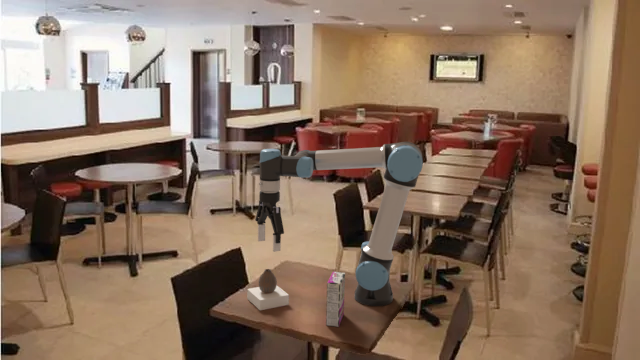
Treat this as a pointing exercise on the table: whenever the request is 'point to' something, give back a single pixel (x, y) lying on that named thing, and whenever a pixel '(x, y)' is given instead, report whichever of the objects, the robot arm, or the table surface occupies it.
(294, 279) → the table surface
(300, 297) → the table surface
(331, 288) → the candy bar box
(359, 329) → the table surface
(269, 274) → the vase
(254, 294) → the plinth
